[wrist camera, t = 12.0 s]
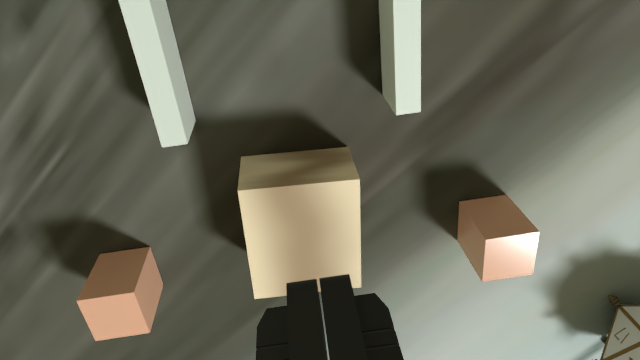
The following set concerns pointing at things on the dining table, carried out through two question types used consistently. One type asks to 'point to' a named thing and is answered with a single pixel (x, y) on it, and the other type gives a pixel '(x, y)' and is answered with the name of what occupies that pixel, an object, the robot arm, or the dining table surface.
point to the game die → (623, 333)
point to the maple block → (300, 218)
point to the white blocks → (171, 88)
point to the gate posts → (146, 284)
